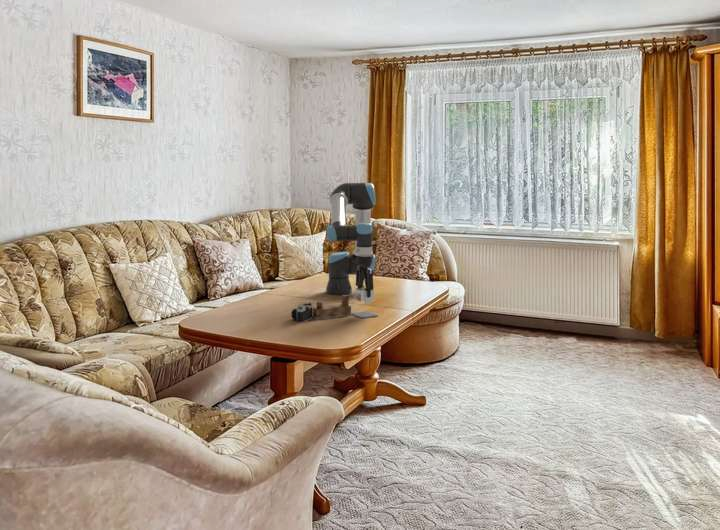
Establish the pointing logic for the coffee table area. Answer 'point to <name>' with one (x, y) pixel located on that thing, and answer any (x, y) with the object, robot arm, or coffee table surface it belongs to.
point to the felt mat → (364, 314)
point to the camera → (302, 312)
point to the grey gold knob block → (362, 294)
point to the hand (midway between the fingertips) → (364, 302)
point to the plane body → (332, 309)
